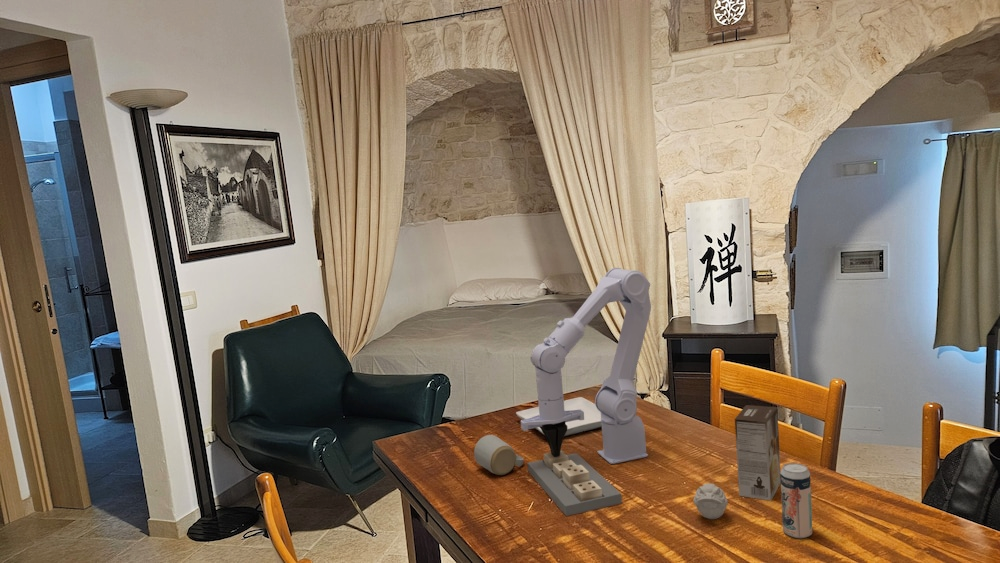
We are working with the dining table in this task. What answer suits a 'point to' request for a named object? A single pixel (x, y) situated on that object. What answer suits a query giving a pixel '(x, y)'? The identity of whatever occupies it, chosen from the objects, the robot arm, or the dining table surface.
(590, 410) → the salad plate
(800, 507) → the beer can
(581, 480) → the beige small block
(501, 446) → the ceramic mug
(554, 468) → the cream dice block
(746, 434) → the coffee box
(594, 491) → the beige square block
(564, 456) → the key
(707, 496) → the frog figurine
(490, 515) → the dining table surface
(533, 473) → the grey slotted tray
